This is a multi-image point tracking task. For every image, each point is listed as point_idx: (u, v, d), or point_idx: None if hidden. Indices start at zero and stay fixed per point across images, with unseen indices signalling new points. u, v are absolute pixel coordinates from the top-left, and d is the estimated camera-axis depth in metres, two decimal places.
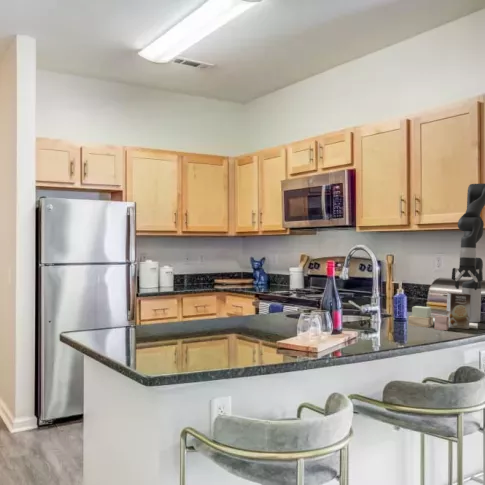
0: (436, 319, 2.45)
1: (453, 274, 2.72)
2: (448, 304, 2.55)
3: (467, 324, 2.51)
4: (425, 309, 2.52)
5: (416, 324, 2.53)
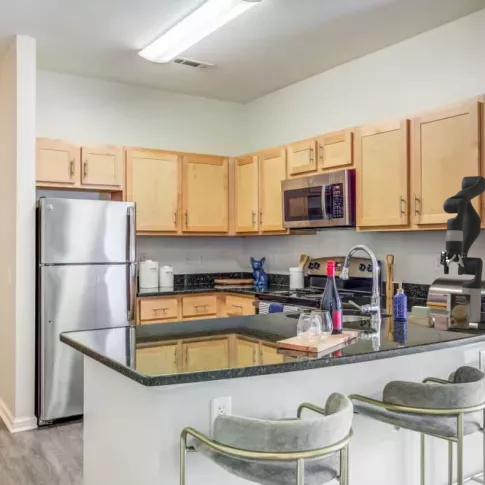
0: (436, 319, 2.45)
1: (445, 259, 2.51)
2: (448, 304, 2.55)
3: (467, 324, 2.51)
4: (425, 309, 2.52)
5: (416, 324, 2.53)
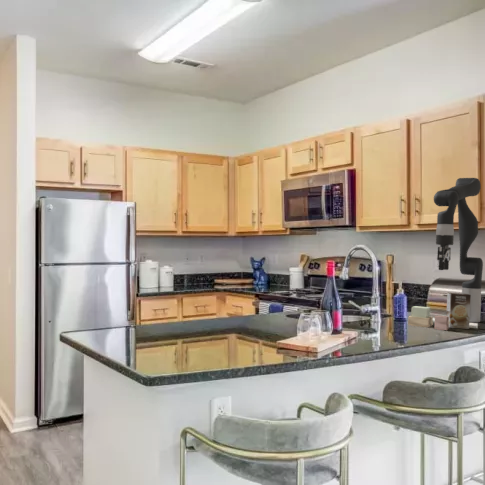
0: (436, 319, 2.45)
1: (443, 254, 2.40)
2: (448, 304, 2.55)
3: (467, 324, 2.51)
4: (424, 309, 2.52)
5: (416, 324, 2.53)
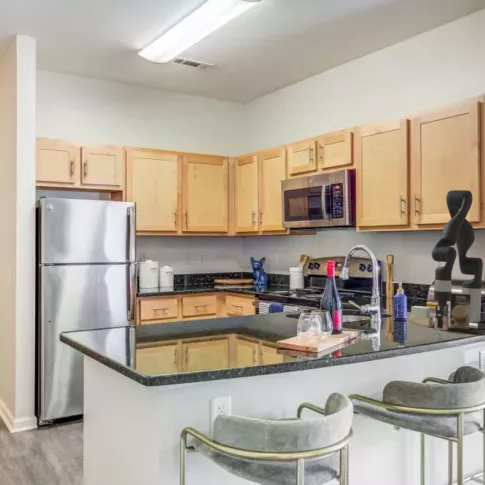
0: (436, 319, 2.45)
1: (441, 313, 2.41)
2: (448, 304, 2.55)
3: (467, 324, 2.51)
4: (424, 309, 2.53)
5: (416, 324, 2.53)
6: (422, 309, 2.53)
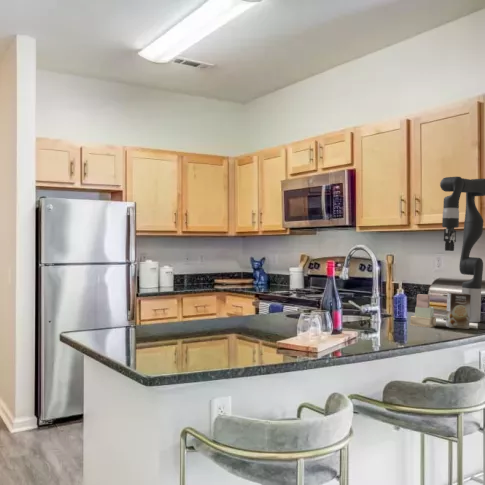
0: (418, 297, 2.56)
1: (449, 235, 2.57)
2: (448, 304, 2.55)
3: (467, 324, 2.51)
4: (428, 309, 2.53)
5: (418, 324, 2.53)
6: (426, 309, 2.53)
